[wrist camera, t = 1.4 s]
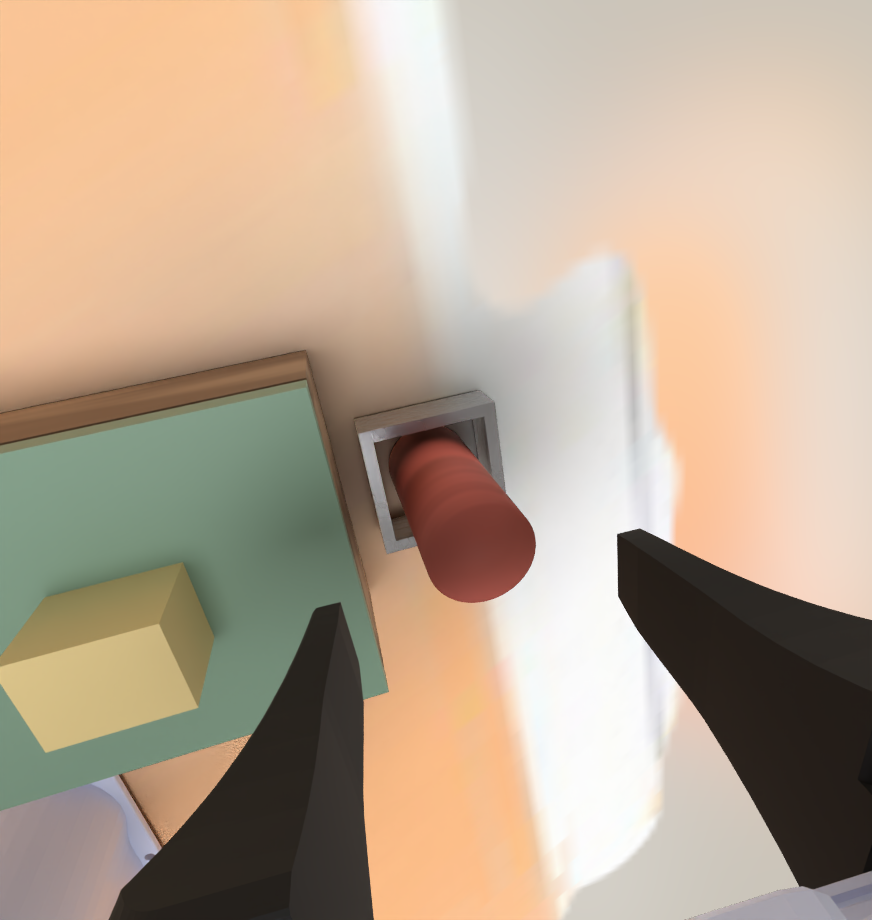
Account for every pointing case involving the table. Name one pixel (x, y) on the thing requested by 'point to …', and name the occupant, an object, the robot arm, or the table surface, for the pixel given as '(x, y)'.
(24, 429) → the wooden box
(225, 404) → the lid
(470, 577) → the key peg
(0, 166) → the table surface
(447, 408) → the key socket
